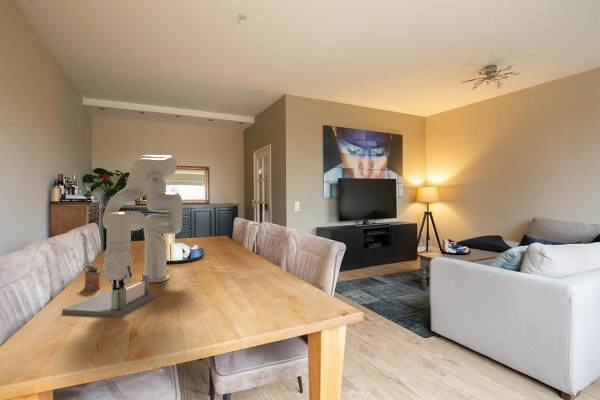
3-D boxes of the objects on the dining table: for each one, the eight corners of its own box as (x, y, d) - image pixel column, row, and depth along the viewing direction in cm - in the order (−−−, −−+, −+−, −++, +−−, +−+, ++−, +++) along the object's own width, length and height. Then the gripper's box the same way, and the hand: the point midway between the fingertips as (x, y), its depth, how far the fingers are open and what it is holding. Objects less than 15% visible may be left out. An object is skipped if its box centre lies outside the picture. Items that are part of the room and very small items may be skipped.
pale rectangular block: (140, 294, 118) (140, 278, 118) (144, 294, 118) (145, 279, 118) (111, 309, 102) (111, 291, 102) (116, 309, 102) (116, 291, 102)
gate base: (108, 294, 124) (108, 272, 124) (156, 296, 121) (156, 274, 121) (62, 313, 103) (62, 287, 103) (119, 317, 101) (119, 290, 101)
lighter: (101, 288, 131) (102, 265, 131) (93, 291, 128) (94, 267, 128) (90, 286, 135) (90, 264, 134) (82, 288, 131) (82, 265, 131)
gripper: (94, 246, 108) (94, 297, 108) (123, 249, 102) (122, 303, 102) (114, 243, 115) (114, 292, 115) (142, 246, 109) (142, 297, 109)
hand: (118, 297), depth 109 cm, fingers closed
